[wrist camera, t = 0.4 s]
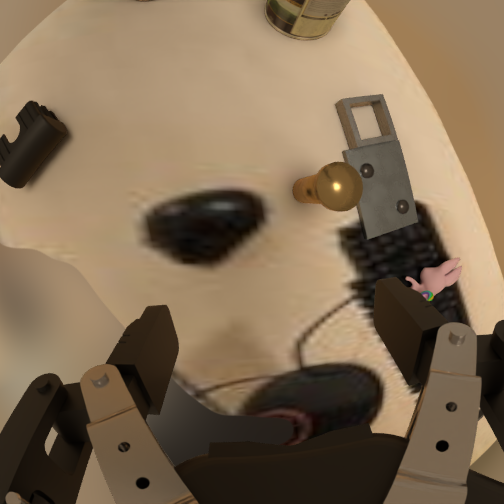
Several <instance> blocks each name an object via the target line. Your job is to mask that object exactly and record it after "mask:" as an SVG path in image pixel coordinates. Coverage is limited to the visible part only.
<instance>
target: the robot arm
mask: <svg viewBox="0 0 504 504" xmlns="http://www.w3.org/2000/svg"><path fill="white" fill-rule="evenodd" d="M138 1H149V0H138ZM373 319H374V325H375V328H376V331H377V332H378V334H379V336H380V337H381V339H382V341H383V342H384V344H385V346H386V347H387V349H388V351H389V352H390V354H391V356H392V357H393V359H394V361H395V363H396V364H397V366H398V368H399V369H400V371H401V373H402V375H403V377H404V378H405V380H406V382H407V384H408V385H409V386H410V385H413V384H416V383H419V382H420V383H421V385H422V388H421V391H420V394H419V397H418V400H417V404H416V407H415V410H414V413H413V416H412V419H411V421H410V424H409V427H408V430H407V432H406V435H405V437H404V438H403V437H400V436H396V435H391V434H384V433H372V431H371V428H370V425H369V423H367V424H363V425H359V426H354V427H350V428H345V429H340V430H335V431H331V432H328V433H326V434H323V435H321V436H318V437H315V438H313V439H310V440H307V441H305V442H302V443H299V444H296V445H292V446H284V445H274V444H265V443H256V442H250V441H246V442H221V443H220V442H219V443H210V447H209V453H208V454H203V455H199V456H196V457H194V458H191V459H188V460H186V461H184V462H183V463H180V464H179V465H177V466H176V467H175V466H174V465H173V464H172V462H171V461H170V459H169V458H168V456H167V455H166V453H165V452H164V450H163V448H162V447H161V445H160V444H159V442H158V440H157V439H156V437H155V436H154V434H153V432H152V431H151V429H150V427H149V425H148V424H147V422H146V418H147V415H148V414H154V415H159V414H160V411H161V408H162V404H163V401H164V398H165V394H166V391H167V388H168V384H169V381H170V378H171V375H172V371H173V368H174V365H175V362H176V359H177V355H178V351H179V343H178V338H177V334H176V331H175V328H174V325H173V321H172V318H171V315H170V311H169V308H168V307H167V305H157V306H147V307H146V309H145V310H144V312H143V314H142V316H141V317H140V319H136V320H135V321H134V322H132V323H131V324H130V325H129V326H128V327H127V328H126V330H125V331H124V333H123V336H122V337H121V338H120V340H119V343H117V345H116V346H115V348H114V350H113V352H112V353H111V355H110V357H109V358H108V360H107V362H106V364H102V365H97V366H95V367H93V368H91V369H89V370H88V371H87V372H85V374H84V375H83V376H82V378H81V380H80V382H79V383H73V384H66V385H63V383H62V381H61V380H60V378H59V377H58V376H57V375H56V374H52V373H48V374H44V375H41V376H39V377H37V378H36V379H35V380H34V381H33V382H32V383H31V384H30V386H29V387H28V389H27V390H26V392H25V393H24V395H23V397H22V398H21V400H20V401H19V403H18V405H17V406H16V408H15V409H14V411H13V413H12V414H11V416H10V418H9V420H8V421H7V423H6V425H5V426H4V428H3V430H2V432H1V433H0V504H75V503H76V500H77V497H78V493H79V490H80V487H81V483H82V480H83V476H84V474H85V470H86V467H87V464H88V460H89V458H90V455H91V452H92V449H94V451H95V454H96V457H97V460H98V462H99V465H100V468H101V470H102V472H103V475H104V477H105V480H106V482H107V484H108V487H109V489H110V492H111V494H112V496H113V498H114V500H115V502H116V504H504V483H502V482H499V481H496V480H494V479H492V478H489V477H487V476H484V475H482V474H479V473H477V472H475V471H473V470H471V469H469V466H470V462H471V457H472V453H473V448H474V442H475V436H476V430H477V423H478V415H479V407H480V409H481V411H482V412H483V414H484V416H485V418H486V419H487V421H488V423H489V425H490V427H491V428H492V430H493V432H494V434H495V436H496V438H497V440H498V442H499V444H500V446H501V447H502V449H503V451H504V320H501V321H499V322H497V324H496V325H495V328H494V331H493V334H489V335H476V333H475V332H474V330H473V329H471V328H470V327H469V326H467V325H464V324H461V323H449V322H448V321H447V320H446V319H445V318H444V317H443V316H442V315H441V314H440V313H439V312H438V311H437V310H436V309H435V308H434V306H432V304H431V303H430V302H429V301H426V298H425V297H424V296H423V295H422V294H421V293H420V292H418V291H416V290H414V289H412V288H410V287H406V286H405V285H404V284H403V283H402V282H401V281H400V280H399V279H398V278H396V277H393V278H387V279H380V280H378V281H377V282H376V288H375V302H374V314H373ZM52 427H53V428H54V429H55V431H56V432H57V433H58V435H57V437H56V439H55V442H54V444H53V446H52V448H51V451H50V453H49V456H48V455H47V454H46V451H45V441H46V439H47V436H48V434H49V432H50V430H51V428H52Z"/></svg>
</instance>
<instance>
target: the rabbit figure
mask: <svg viewBox="0 0 504 504" xmlns="http://www.w3.org/2000/svg"><path fill="white" fill-rule="evenodd" d="M459 261H460V258H454V259H451V260H448V261H446V262H444V263H442V264H441V265H440V266H438V267H436V268H424V269H423V270H422V271H421V273H420V279H421V280H420V282H419V284H418V283H417V282H416V281H415V280H414V279H413V278H410V277H406V278H405V279H406V280H407V281H411V283H412V286H411V287H410V288H412V289H414V290H416V291H418V292H420V293H421V294H422V295H423V296H424V297H425V298H426V301H431V300H432V299H433V297H434V295H435V294H437V293H438V292H440V291H441V290H442V289H443V288H444V287H445V286H450V285H452V284H453V283H455V282H456V281H457V280H458V278H459V276H460V274H461V270H462V266H460V267H458V268H456V269H455V270H453V271H451V270H452V269H453V268H455V267H456V265H457V264H458V262H459ZM450 271H451V272H450ZM448 272H450V273H448ZM447 273H448V274H447ZM445 274H446V275H445Z"/></svg>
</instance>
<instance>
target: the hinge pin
mask: <svg viewBox="0 0 504 504" xmlns="http://www.w3.org/2000/svg"><path fill="white" fill-rule="evenodd" d="M362 193H363V183H362V179H361V177H360V175H359V173H358V172H357V170H356V169H355V168H354V167H352V166H351V165H349V164H347V163H344V162H334V163H331V164H328V165H325V166H324V167H322V168H321V169H320V170H319V172H318V173H317V174H316V175H312V176H309V177H305V178H302V179H299V180H297V181H296V182H295V184H294V186H293V195H294V197H295V198H296V200H298V201H299V202H301V203H312V204H322V205H323V206H324V207H325V208H327V209H329V210H333V211H348V210H350V209H352V208H353V207H355V206H356V205H357V204H358V202H359V201H360V199H361V197H362Z"/></svg>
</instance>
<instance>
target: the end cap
mask: <svg viewBox="0 0 504 504" xmlns="http://www.w3.org/2000/svg"><path fill="white" fill-rule="evenodd" d="M15 118H16V119H17V121H18V123H19V125H20V132H19V135H18V137H17V139H16V140H15V141H14V142H13V143H9V141H8V139H7V138H6V136H5V135H4V134H3V135H2V137H1V138H0V166H1V167H0V178H1V179H2V180H3V181H4V182H5V183H7V184H8V185H10V186H11V187H14V188H23V187H24V186H25V185H26V183H27V182H28V181H29V179H30V178H31V177H32V175H33V174H34V172H35V171H36V170H37V169H38V167H39V166H40V165H41V163H42V162H43V161H44V160H45V158H46V157H47V156H48V155H49V153H50V152H51V151H52V150H53V149H54V147H55V146H56V145H57V144H58V143H59V142H60V140H61V139H62V138H63V137H64V136H65V135H66V133H67V130H66V128H65V126H64V124H63V123H62V122H60V121H59V120H58V119H57V117H56V116H55V114H54V113H53V112H52V111H48V109H47V108H46V107H45V106H42V105H41V106H39V105H38V103H37V102H34V101H29V102H28V103H27V104H26V105H25V106H24V107H23V109H22V110H21V111H20V112H19V114H18V115H17V116H16V117H15Z"/></svg>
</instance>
